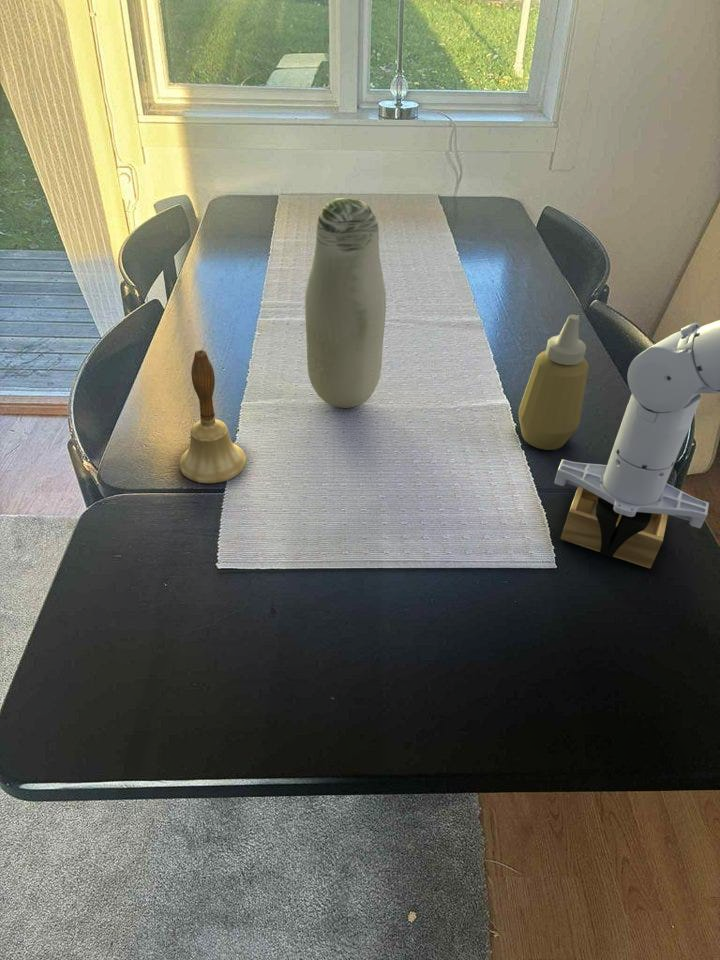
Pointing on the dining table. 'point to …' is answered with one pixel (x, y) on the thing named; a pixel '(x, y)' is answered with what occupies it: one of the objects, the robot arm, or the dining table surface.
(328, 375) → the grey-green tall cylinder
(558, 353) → the squeeze bottle
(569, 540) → the cutlery caddy
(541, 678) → the dining table surface
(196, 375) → the hand bell
